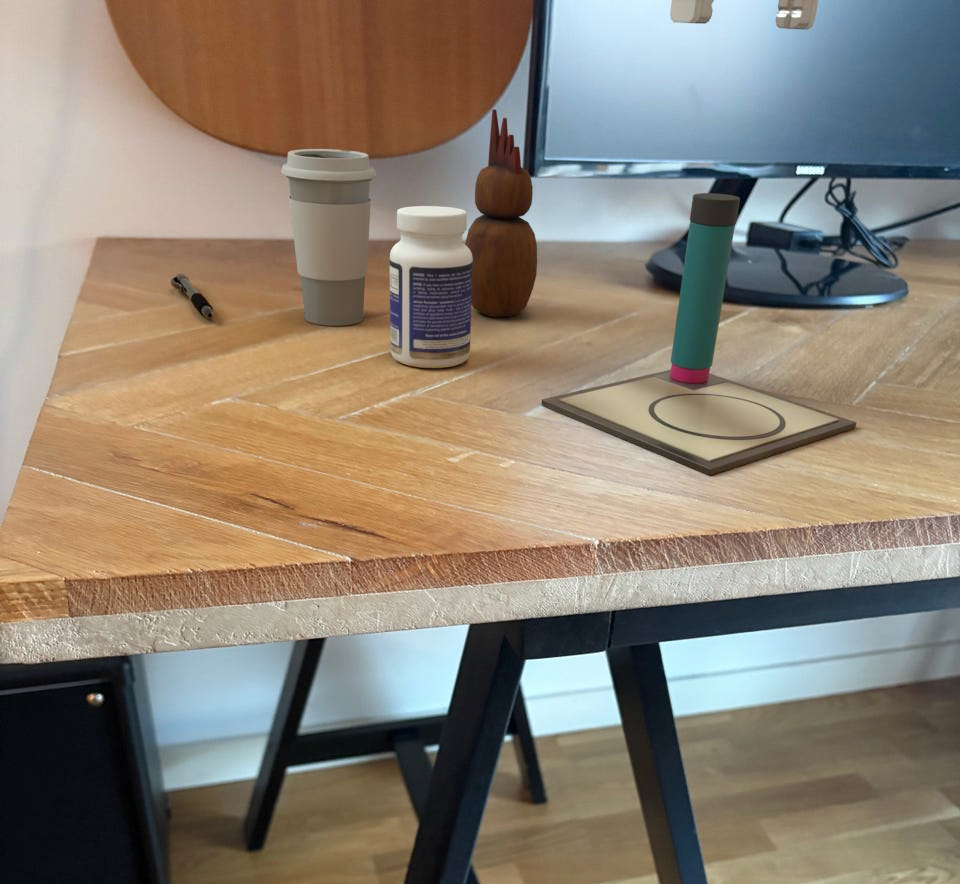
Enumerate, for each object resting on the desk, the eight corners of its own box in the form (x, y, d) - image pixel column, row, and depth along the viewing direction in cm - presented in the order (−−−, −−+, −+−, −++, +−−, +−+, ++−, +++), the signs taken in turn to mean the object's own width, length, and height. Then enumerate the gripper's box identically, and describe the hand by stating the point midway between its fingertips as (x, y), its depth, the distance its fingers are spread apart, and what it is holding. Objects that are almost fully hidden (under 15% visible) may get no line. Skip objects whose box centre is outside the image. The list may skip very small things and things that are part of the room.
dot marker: (686, 369, 70) (713, 191, 64) (719, 380, 68) (749, 198, 62) (658, 375, 68) (683, 194, 62) (691, 387, 66) (719, 201, 60)
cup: (392, 315, 82) (391, 153, 75) (353, 334, 76) (349, 161, 70) (316, 304, 84) (309, 146, 77) (273, 321, 78) (262, 153, 72)
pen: (167, 283, 87) (165, 270, 87) (186, 282, 88) (185, 269, 87) (196, 323, 76) (194, 308, 76) (218, 322, 77) (216, 307, 76)
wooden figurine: (457, 302, 86) (462, 106, 78) (522, 302, 87) (533, 109, 79) (471, 322, 81) (478, 114, 73) (540, 322, 82) (554, 116, 74)
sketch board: (685, 371, 71) (687, 363, 71) (855, 428, 62) (857, 419, 62) (541, 405, 64) (541, 396, 63) (710, 475, 55) (712, 466, 54)
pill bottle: (484, 356, 72) (490, 209, 67) (442, 375, 68) (445, 220, 63) (418, 343, 75) (419, 200, 70) (374, 360, 71) (371, 209, 65)
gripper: (707, -362, 42) (662, 21, 50) (955, -267, 53) (889, 33, 61) (602, -332, 46) (575, 17, 54) (853, -250, 58) (802, 30, 65)
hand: (743, 26), depth 57 cm, fingers open, 8 cm apart
